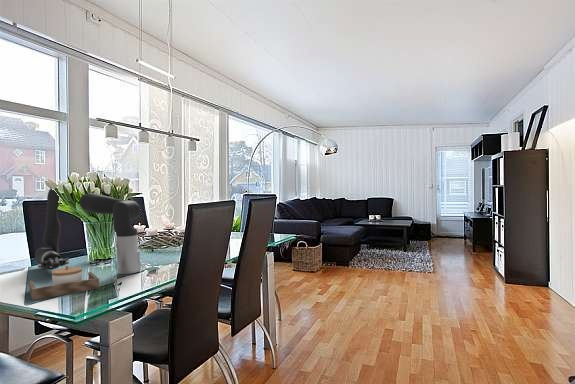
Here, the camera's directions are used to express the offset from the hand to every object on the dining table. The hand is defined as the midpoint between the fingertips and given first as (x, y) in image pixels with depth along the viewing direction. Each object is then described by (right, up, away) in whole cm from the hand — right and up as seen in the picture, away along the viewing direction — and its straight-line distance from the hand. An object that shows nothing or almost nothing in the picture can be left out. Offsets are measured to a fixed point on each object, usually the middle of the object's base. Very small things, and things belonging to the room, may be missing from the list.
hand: (56, 265), depth 176 cm
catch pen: (+13, -6, -17) cm, 22 cm away
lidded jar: (+14, -6, -16) cm, 23 cm away
